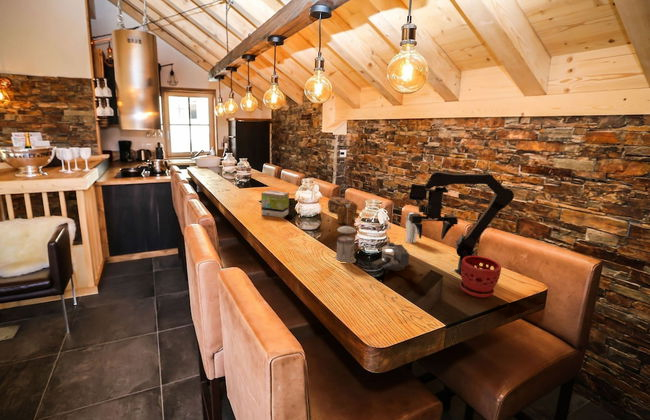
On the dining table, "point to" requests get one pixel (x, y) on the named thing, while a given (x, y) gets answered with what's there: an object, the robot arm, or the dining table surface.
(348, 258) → the french press
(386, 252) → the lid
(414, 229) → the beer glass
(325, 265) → the dining table surface
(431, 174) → the robot arm
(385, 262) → the pot
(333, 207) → the bread
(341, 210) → the stuffed squirrel
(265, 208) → the tea box
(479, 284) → the plant pot
